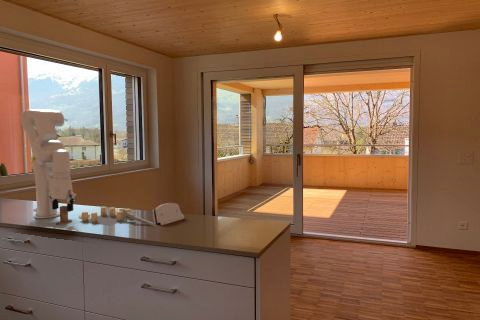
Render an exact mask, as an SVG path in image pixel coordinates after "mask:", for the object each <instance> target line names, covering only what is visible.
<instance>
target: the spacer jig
mask: <svg viewBox="0 0 480 320" xmlns="http://www.w3.org/2000/svg"><path fill="white" fill-rule="evenodd" d="M124 210H125V211H126V210H127V212H128V213H130V214H132V209H131V208H125V207H124V208H123V207H121V208H118V211H116V207H113V206H112V207H109V214H108V212H107V206H101V207H100V214H99V215H98V212H91V213H90V217H88V214H89V211H82V212H81V214H82V218H81V220H80V221H79V223H85V224H92V225H93V224H94V225H101V226H113V225H115V224H116V225H117V224H119V223H121V222H126V221H125V217H124V221H122V212H123V211H124ZM128 220H130V219H129V218H128V219H127V221H128Z"/></svg>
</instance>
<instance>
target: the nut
mask: <svg viewBox="0 0 480 320" xmlns="http://www.w3.org/2000/svg"><path fill="white" fill-rule="evenodd" d="M78 218H79V219H82V213H80V214H78ZM88 218H91V213H88Z"/></svg>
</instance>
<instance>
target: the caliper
mask: <svg viewBox="0 0 480 320" xmlns="http://www.w3.org/2000/svg"><path fill="white" fill-rule="evenodd" d="M124 217H125V221H124ZM128 218H129V219H128ZM127 219H128V220H131V221H136V222H139V223H142V224H145V225H148V226H150V227H151V226H153V227H156V226H157V224H154V222H152V221H150V220H147V219H144V218H141V217H139V216H135V214H132V213H131V214H130V213H128V212H127V210H126V211H125V210H124V211H123V212H122V222H127V221H128V220H127Z"/></svg>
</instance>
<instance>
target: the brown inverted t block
mask: <svg viewBox="0 0 480 320" xmlns="http://www.w3.org/2000/svg"><path fill="white" fill-rule="evenodd" d="M59 212H60V215H59V221H57V222H55V224H56V225H57V226H62V225H66V224H69V223H71V222H73V219H69V212H67V205H61V206H59Z"/></svg>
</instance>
